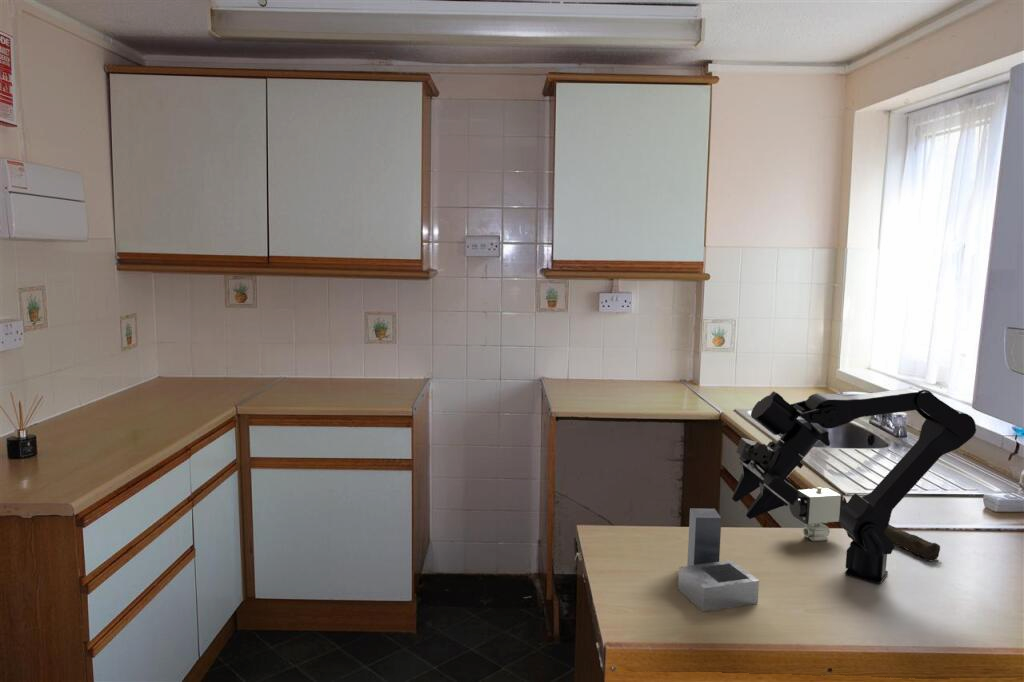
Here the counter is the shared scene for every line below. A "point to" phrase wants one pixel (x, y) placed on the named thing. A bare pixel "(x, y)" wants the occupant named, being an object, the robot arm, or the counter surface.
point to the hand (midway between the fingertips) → (740, 508)
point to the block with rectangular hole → (718, 585)
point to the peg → (704, 536)
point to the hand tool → (913, 543)
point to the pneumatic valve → (818, 511)
